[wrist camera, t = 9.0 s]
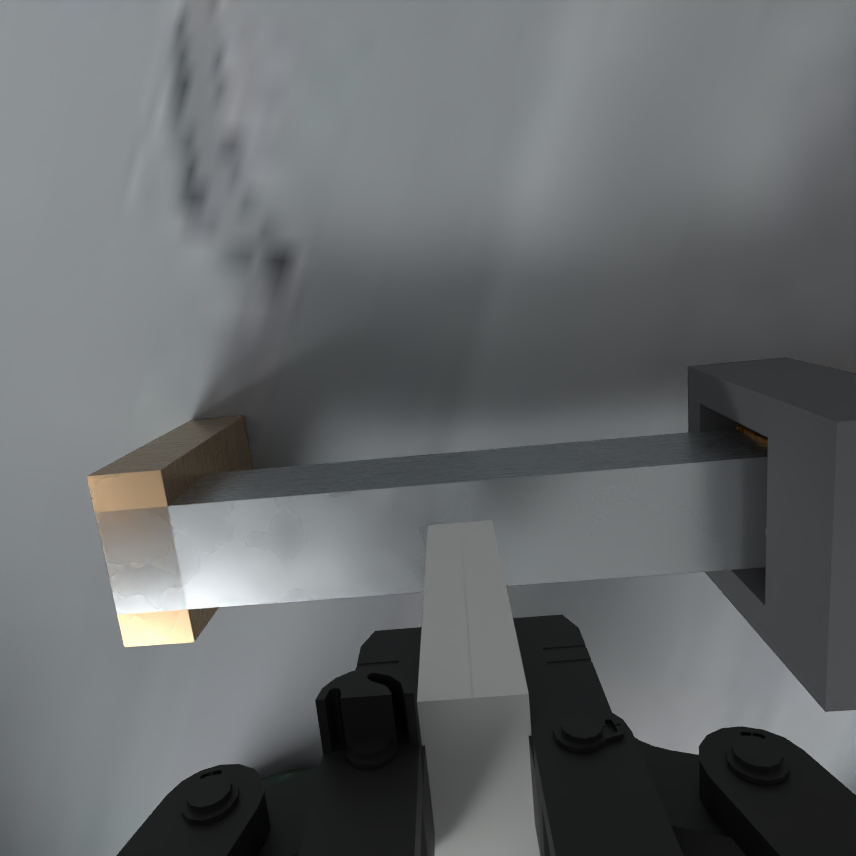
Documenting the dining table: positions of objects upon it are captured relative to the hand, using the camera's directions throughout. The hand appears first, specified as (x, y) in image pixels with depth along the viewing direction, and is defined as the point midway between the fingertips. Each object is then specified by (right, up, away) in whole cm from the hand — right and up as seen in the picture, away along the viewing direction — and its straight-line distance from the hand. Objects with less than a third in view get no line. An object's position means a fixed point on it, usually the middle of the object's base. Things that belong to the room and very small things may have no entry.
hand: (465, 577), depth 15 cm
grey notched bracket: (+9, +2, +6) cm, 11 cm away
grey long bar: (+4, +2, +9) cm, 10 cm away
